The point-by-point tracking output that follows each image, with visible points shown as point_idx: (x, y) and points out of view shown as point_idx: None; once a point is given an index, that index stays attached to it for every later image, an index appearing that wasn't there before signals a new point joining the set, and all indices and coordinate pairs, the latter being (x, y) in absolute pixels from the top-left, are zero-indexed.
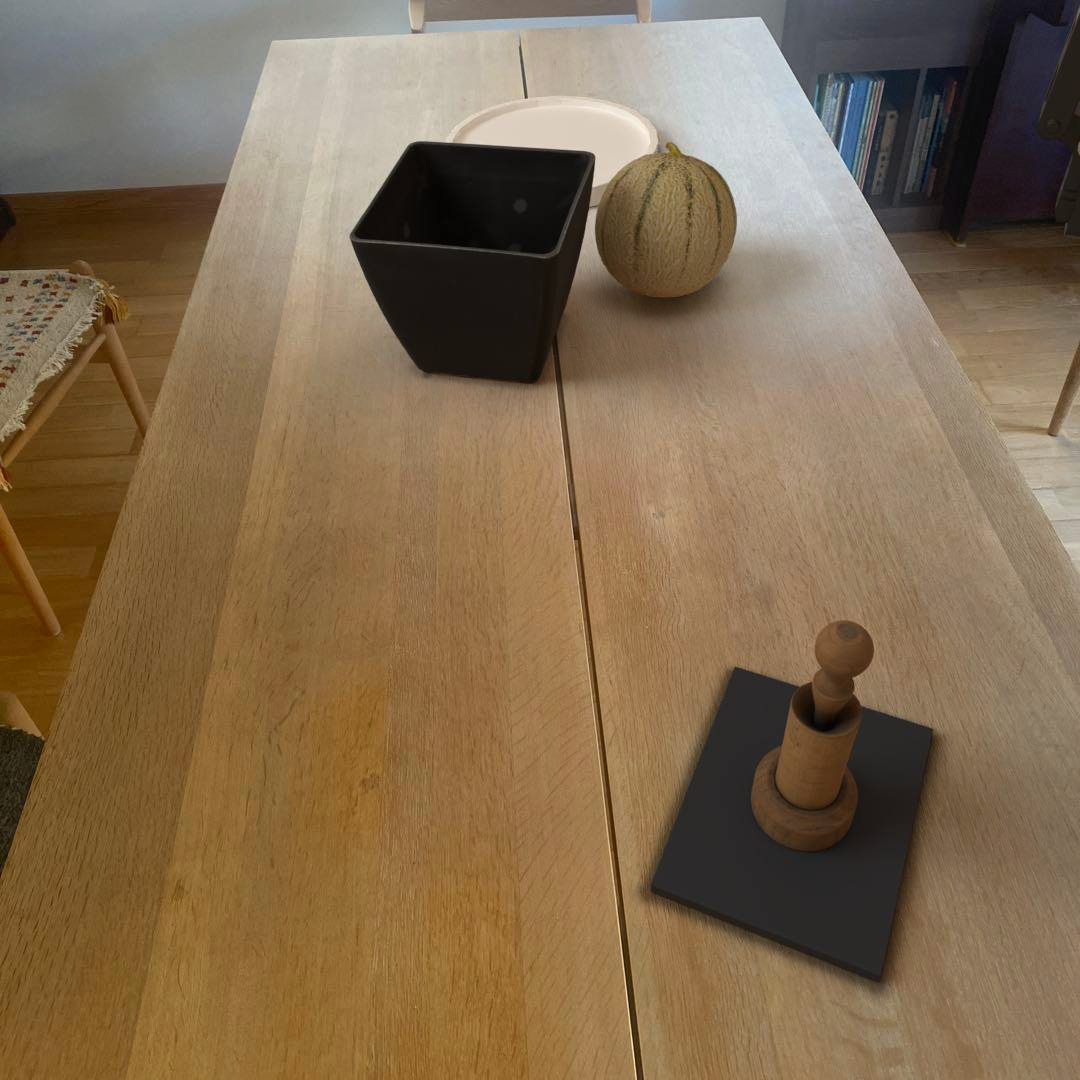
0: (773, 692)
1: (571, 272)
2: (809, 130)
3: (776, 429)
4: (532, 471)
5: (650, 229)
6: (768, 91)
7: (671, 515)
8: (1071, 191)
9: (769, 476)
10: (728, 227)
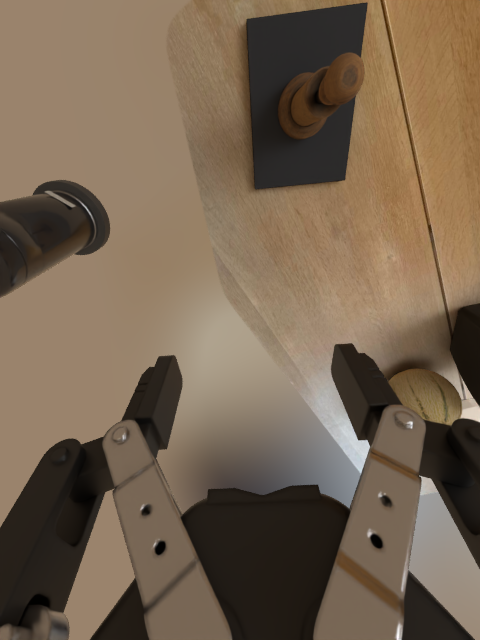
0: (325, 173)
1: (466, 363)
2: (353, 461)
3: (344, 322)
4: (456, 256)
5: (436, 393)
6: None
7: (384, 259)
8: (374, 377)
9: (343, 297)
10: None
